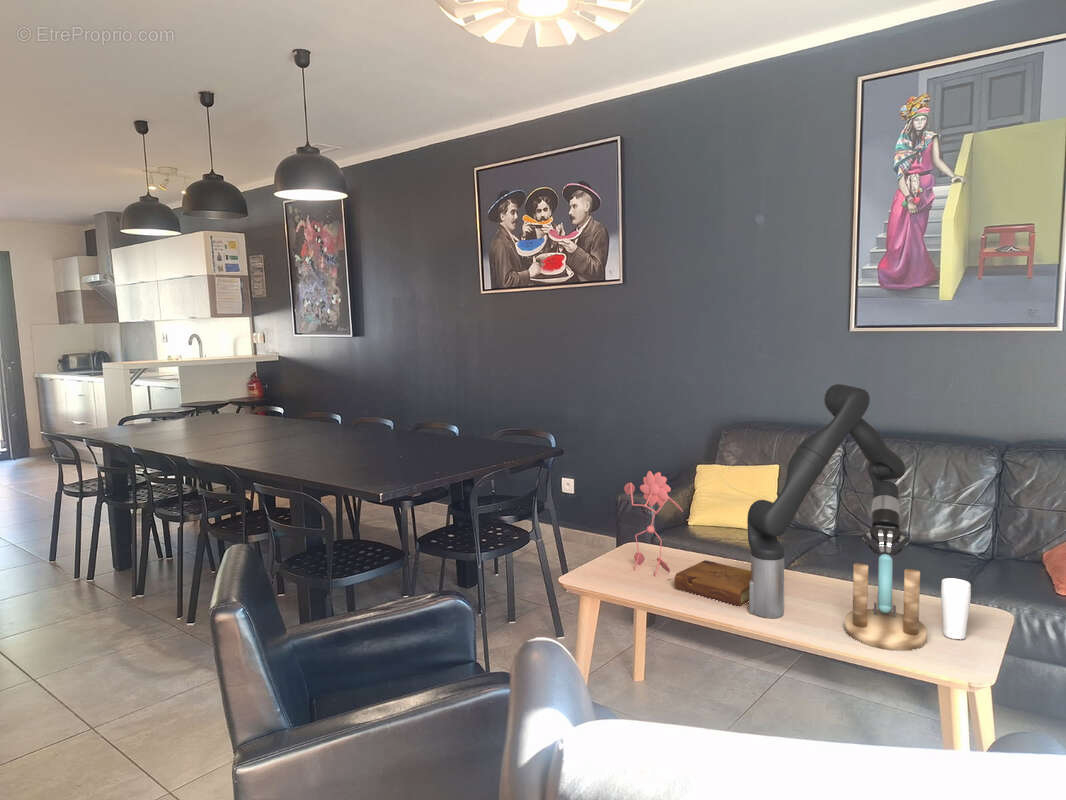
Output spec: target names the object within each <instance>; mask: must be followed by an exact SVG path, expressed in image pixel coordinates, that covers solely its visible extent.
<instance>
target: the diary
mask: <svg viewBox="0 0 1066 800" xmlns="http://www.w3.org/2000/svg"><path fill="white" fill-rule="evenodd" d="M750 580H751V570H748V569H745V568H741V567H740V568H739V567H735V566H732V565H726V564H723V563H719V562H714V561H710V560H706V559H705V560H703V561H700V562H698V563H695V564H693V565H691V566H689V567H686V568H685V569H683V570H680V571H678V572H676V573H675V575H674V590H677V589H679V590H678V591H680V590H682V591H681V592H684V591H685V593H687V592H689V593H688V594H691V593H693V594H692V595H695V594H696V595H695V596H698V595H700V596H699V597H702V596H704V597H703V598H705V597H707V598H706V599H709V598H711V599H710V600H712V599H715V600H714V601H716V600H718V601H717V602H720V601H721V602H720V603H723V602H725V603H724V604H727V603H729V604H728V605H730V604H732V605H731V606H734V605H736V606H735V607H737V606H739V607H738V608H741V607H740V606H742V605H743V604H745V603H747V602H748V601H749V597H750ZM748 603H749V602H748ZM748 603H747V604H748ZM745 605H746V604H745ZM743 606H744V605H743ZM743 606H742V607H743Z"/></svg>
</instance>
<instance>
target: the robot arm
mask: <svg viewBox="0 0 1066 800" xmlns="http://www.w3.org/2000/svg"><path fill="white" fill-rule="evenodd" d="M870 400H871V397H870V394H869V392H868V391H867V390H866V389H863V388H861V387H860V388H859V387H856V386H853V385H852V386H851V385H848V384H840V383H838V384H837V383H836V384H833V385H831V386H829V388H828V389H827V390H826V391H825V394H824V401H823V402H824V405H825V407H826V409H827V411H828V412H829V413H830V414H831V415H832V416H833V419H831V421H830V422H829V423H828V424H826V425H825V426H824V427H822V428H821V429H819V430H818V431H816V432H814V433H812V434H810V435H809V436H807V437H806V438H805V439H804V440H802V442H801V443H800V444H799V445H798V447H797V448H796V449H795V451H794V453H792V455H791V456H790V459H789V461H788V463H787V470H786V476H785V482H784V485H783V488H782V490H781V491H780V492H779V494H778V496H777V497H776V499H774V501H773V502H772V501H770V500H766V499H758V500H756V501H754V502H753V503H752V504H751V505H750V507H749V509H748V512H747V520H746V521H747V522H746V523H747V541H748V545H749V547H750V571H751V580H750V597H749V602H748V603H749V607H748V608H749V614H752V615H755V616H757V615H758V616H757V617H760V616H761V617H760V618H765V617H766V618H765V619H777V618H780V617H782V616H784V610H785V606H784V605H785V601H784V600H785V597H784V596H785V547H784V546H783V545H782V543H781V542H780V540H779V539H778V537H779V536H781V535H783V534H784V533H785V532H786V531H787V530H788V529H789V527H790V525H791V524H792V521H793V520H794V518H795V517H796V514H797V513H798V511H799V508H800V507H801V505H802V503H803V501H804V499H805V497H806V496H807V495H808V494H809V492H810V490H811V489H812V486H813V485H814V484H815V482H817V479H818V478H819V477H820V475H821V473H823V471H824V469H825V468H826V466H827V465H828V463H829V462H830V460H831V459H832V457H833V456H834V454H835V452H836V450H838V448H839V447H840V446H841V444H842V442H843V441H844V440H845V439H846V437H847V436H848V435H850V436H851V437H852V439H853V440H854V441H855V443H856V445H857V446H858V448H859V449H860V451H861V453H862V454H863V456H864V457H865V459H866V460H867V461H868V465H867V467H866V469H867V472H868V475H869V478H870V481H871V482H870V483H871V486H872V490H873V491H872V504H871V528H870V529H869V532H867V533H864V532H863V533H862V534H861V535H862V537H861V540H862V541H863V542H864V543H865V544H866V546H867V547H868V548H869V549H870V550H871V551H872V553H874V554H878V556H879V557H880V556H881V555H883V554H887V555H889V556H898V555H899V554H900V553H901V552H902V551H903V550H904V549H905V548H906V547H907V546H909V544H910V539H909V537H905V536H904V535H902V532H901V529H900V526H901V525H900V524H901V523H900V522H901V520H900V515H901V514H900V505H899V495H900V494H899V487H898V485H897V484H896V483H894V482H892V480H897V479H901V478H903V476H905V473H906V466H905V465H906V464H905V463H904V461H903V459H901V457H900V456H899V455H898V454H896V453H895V452H894V451H893V450H892V449H890V447H888V446H887V444H886V443H885V441H884V440H883V437H882V436H881V435H880V433H879V432H878V431H877V429H875V428H874V427H873V426H872V425H871V424H870V423H869V422H867V420H865V419H864V418H863V416H864V415H865V414H866V412H867V410H868V408H869V405H870V402H871V401H870ZM890 480H891V481H890ZM872 539H873V540H874V541H875V542H876V544H878V545H876V544H875V542H874V541H873V540H872ZM897 542H898V544H897V545H895V544H896V543H897ZM893 545H894V546H895V547H893V548H892V546H893ZM885 546H886V547H885ZM885 548H886V549H885Z"/></svg>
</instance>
